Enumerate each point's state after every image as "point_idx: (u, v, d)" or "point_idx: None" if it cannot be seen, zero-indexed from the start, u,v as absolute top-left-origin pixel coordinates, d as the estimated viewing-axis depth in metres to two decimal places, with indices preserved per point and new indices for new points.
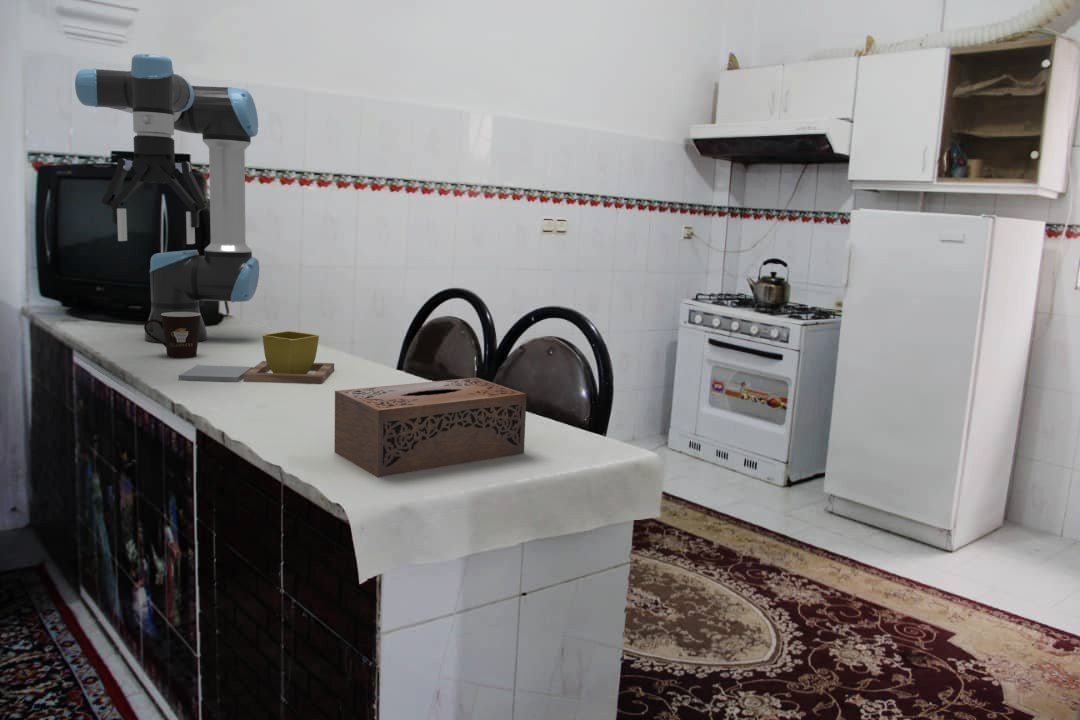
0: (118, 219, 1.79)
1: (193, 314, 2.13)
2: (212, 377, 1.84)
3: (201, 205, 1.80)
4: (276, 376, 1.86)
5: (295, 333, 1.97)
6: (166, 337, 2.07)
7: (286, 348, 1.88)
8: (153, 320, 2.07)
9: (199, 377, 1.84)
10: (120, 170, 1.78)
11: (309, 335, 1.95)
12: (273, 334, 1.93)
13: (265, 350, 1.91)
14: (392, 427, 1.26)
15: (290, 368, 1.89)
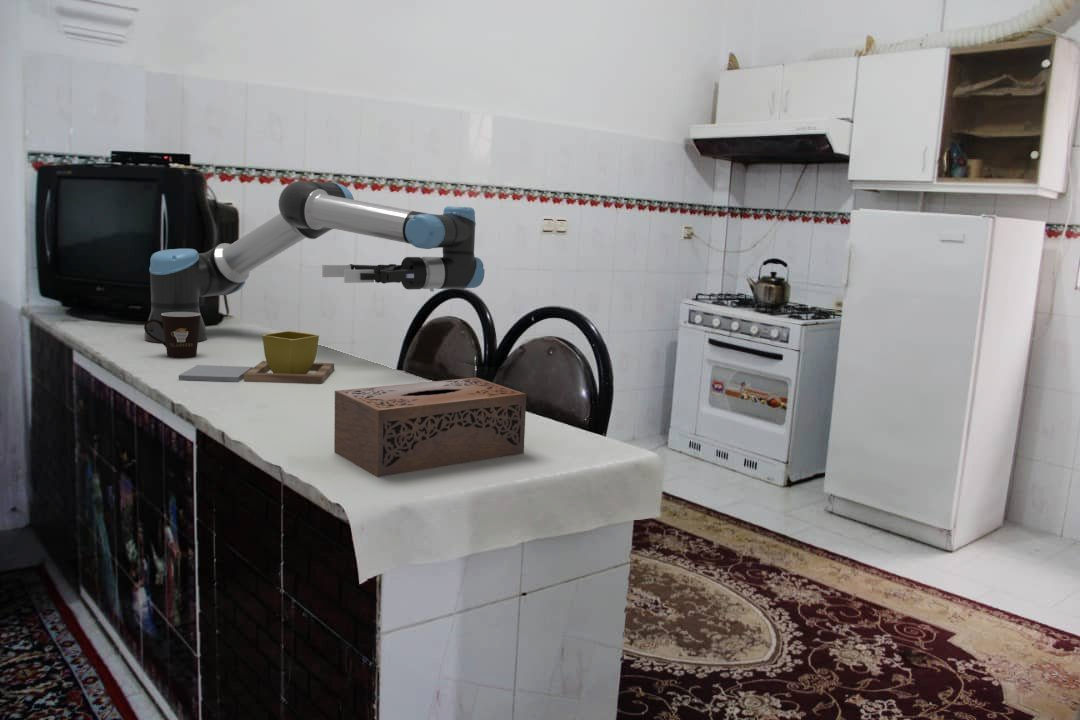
0: (364, 282, 1.92)
1: (193, 314, 2.13)
2: (212, 377, 1.84)
3: None
4: (276, 376, 1.86)
5: (295, 333, 1.97)
6: (166, 337, 2.07)
7: (286, 348, 1.88)
8: (153, 320, 2.07)
9: (199, 377, 1.84)
10: None
11: (309, 335, 1.95)
12: (273, 334, 1.93)
13: (265, 350, 1.91)
14: (392, 427, 1.26)
15: (290, 368, 1.89)
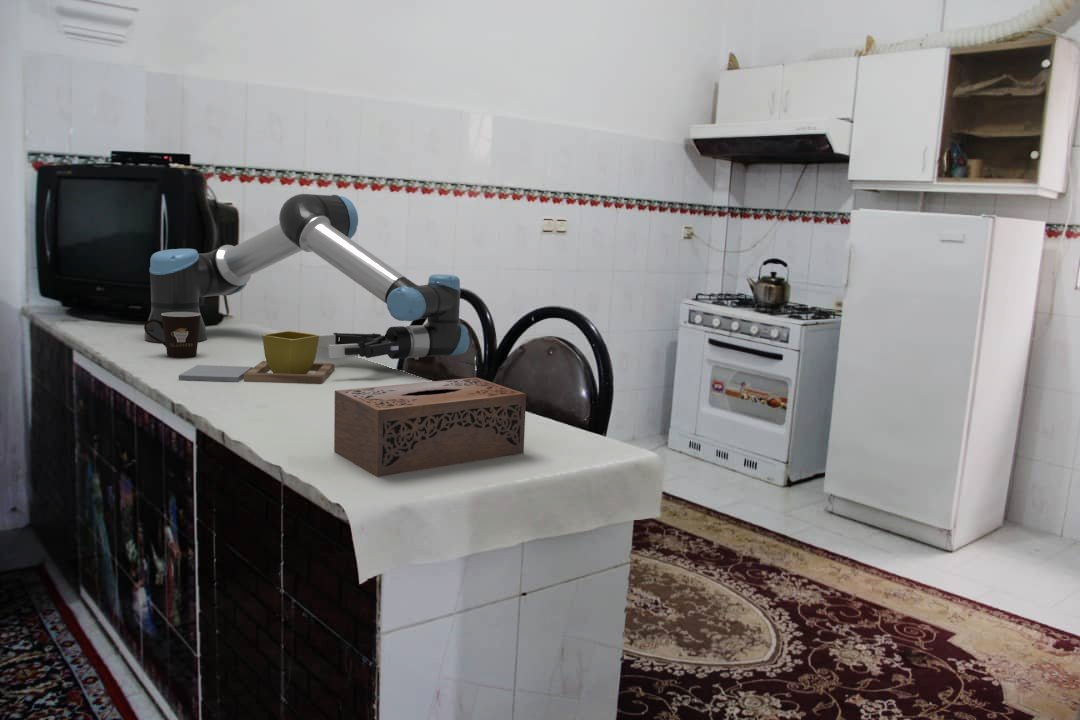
0: (348, 356, 1.93)
1: (193, 314, 2.13)
2: (212, 377, 1.84)
3: None
4: (276, 376, 1.86)
5: (295, 333, 1.97)
6: (166, 337, 2.07)
7: (286, 348, 1.88)
8: (153, 320, 2.07)
9: (199, 377, 1.84)
10: None
11: (309, 335, 1.95)
12: (273, 334, 1.93)
13: (265, 350, 1.91)
14: (391, 427, 1.26)
15: (290, 368, 1.89)
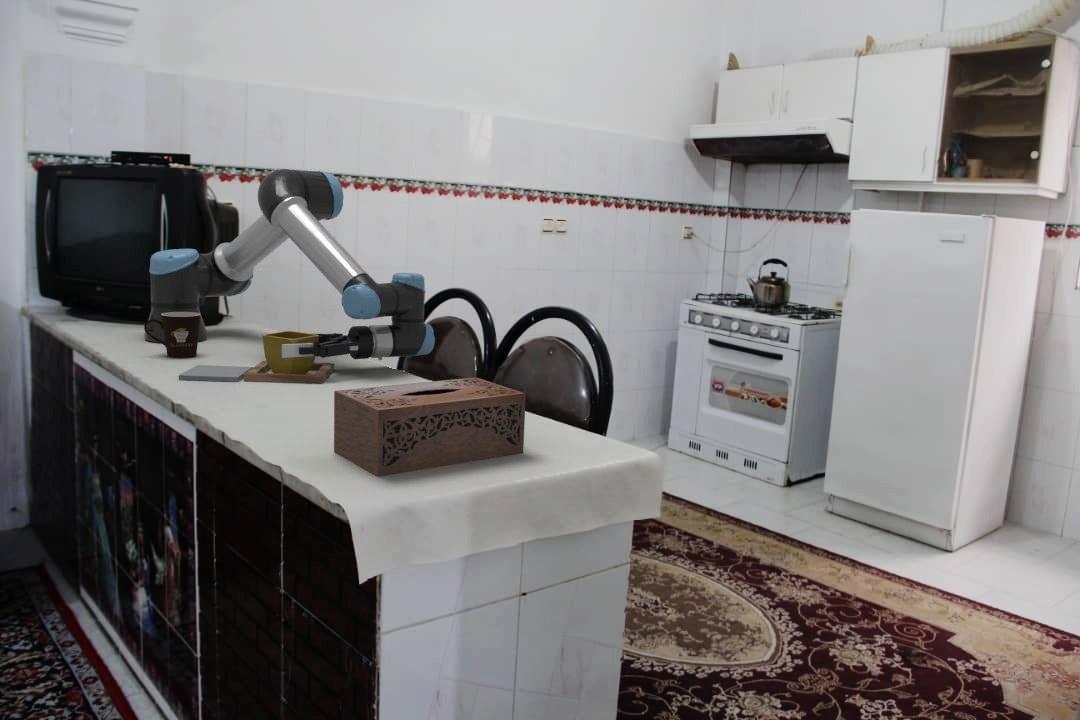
0: None
1: (193, 314, 2.13)
2: (212, 377, 1.84)
3: None
4: (276, 376, 1.86)
5: (295, 333, 1.97)
6: (166, 337, 2.07)
7: None
8: (153, 320, 2.07)
9: (199, 377, 1.84)
10: None
11: (309, 335, 1.95)
12: (273, 334, 1.93)
13: (265, 350, 1.91)
14: (392, 427, 1.26)
15: (290, 368, 1.89)
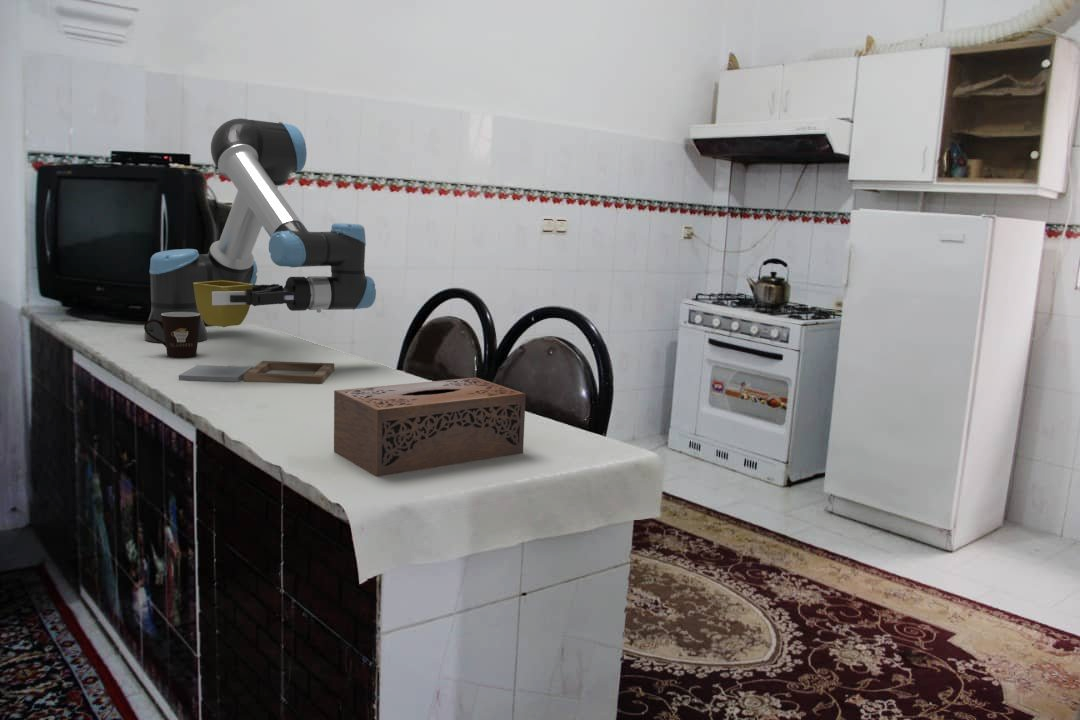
0: (234, 304, 1.83)
1: (193, 314, 2.13)
2: (212, 377, 1.84)
3: None
4: (276, 376, 1.86)
5: (229, 282, 1.91)
6: (166, 337, 2.07)
7: None
8: (153, 320, 2.07)
9: (199, 377, 1.84)
10: None
11: (243, 284, 1.90)
12: (205, 283, 1.88)
13: (196, 298, 1.85)
14: (391, 427, 1.26)
15: (221, 317, 1.84)
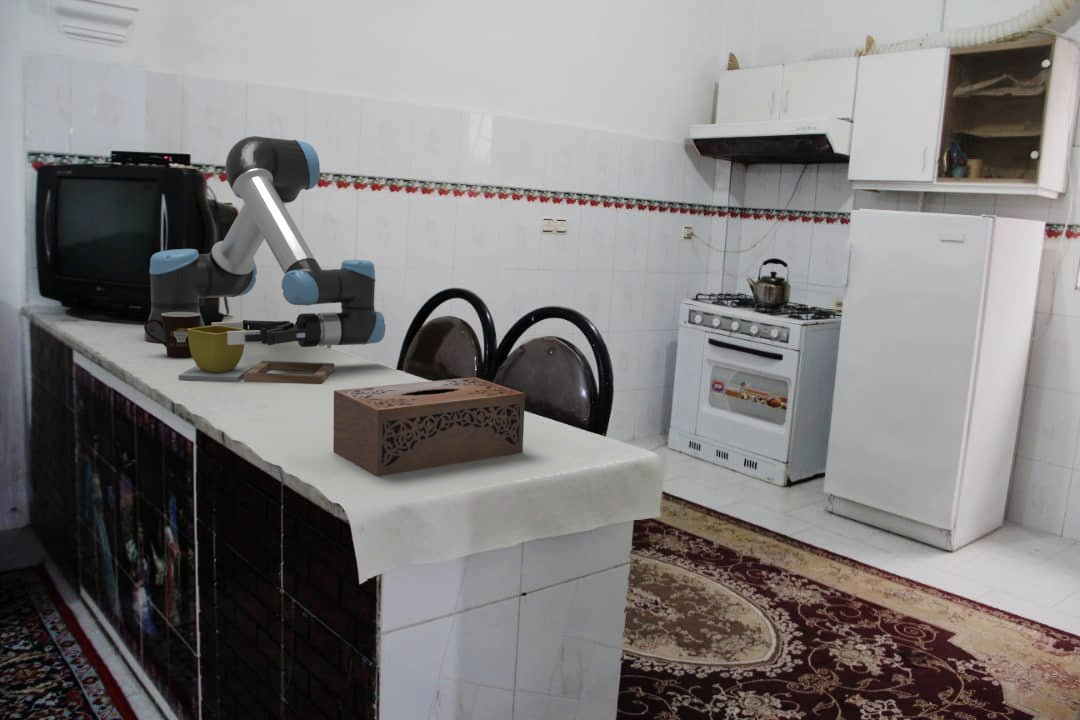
0: (249, 343, 1.86)
1: (193, 314, 2.13)
2: (212, 377, 1.84)
3: None
4: (276, 376, 1.86)
5: (224, 327, 1.93)
6: (166, 337, 2.07)
7: (209, 343, 1.85)
8: (153, 320, 2.07)
9: (199, 377, 1.84)
10: (294, 340, 1.91)
11: (237, 329, 1.92)
12: (200, 328, 1.90)
13: (190, 344, 1.88)
14: (391, 427, 1.26)
15: (213, 363, 1.86)
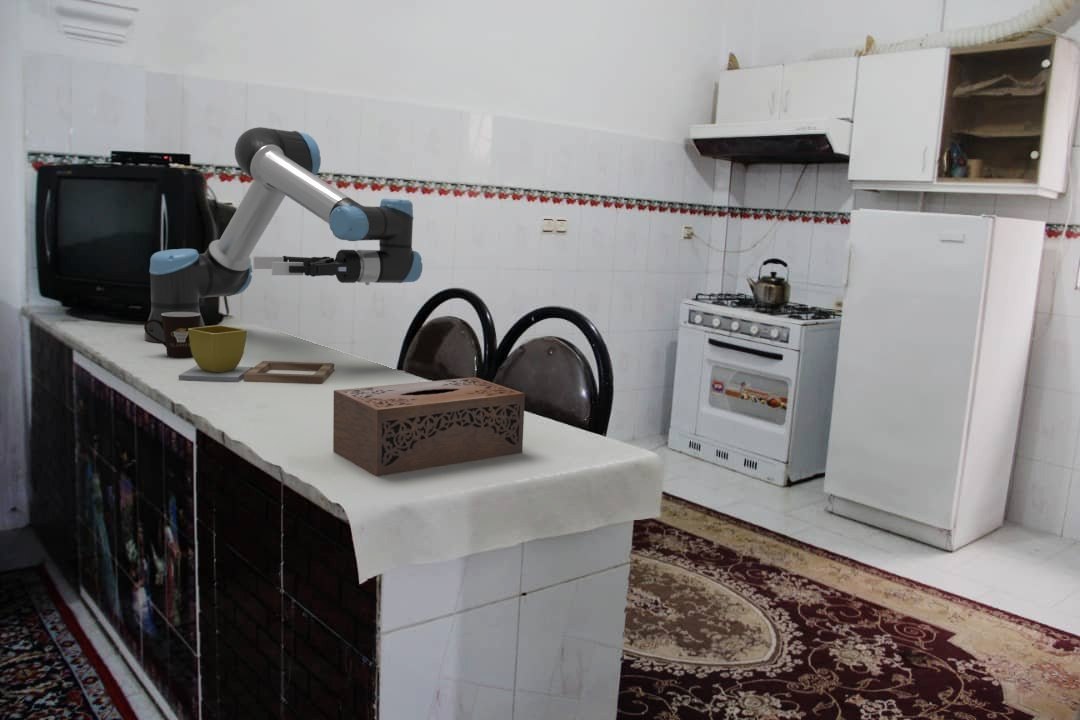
0: None
1: (193, 314, 2.13)
2: (212, 377, 1.84)
3: None
4: (276, 376, 1.86)
5: (226, 327, 1.94)
6: (166, 337, 2.07)
7: (208, 343, 1.85)
8: (153, 320, 2.07)
9: (199, 377, 1.84)
10: None
11: (238, 330, 1.92)
12: (201, 328, 1.90)
13: (190, 344, 1.88)
14: (391, 427, 1.26)
15: (213, 363, 1.86)
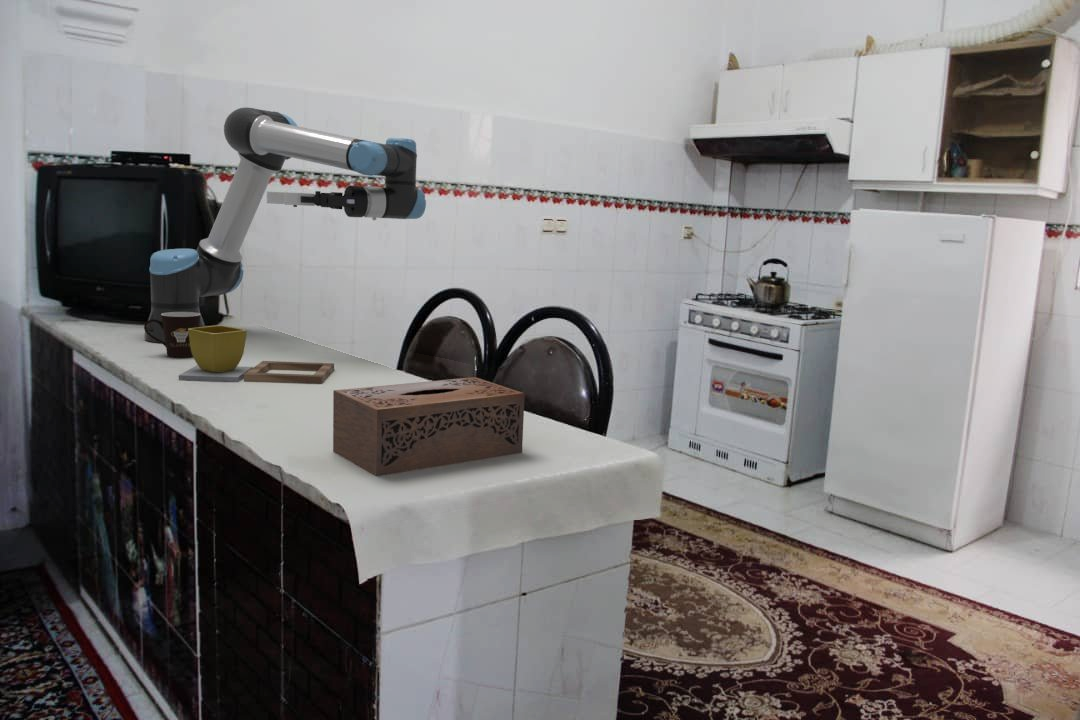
0: None
1: (193, 314, 2.13)
2: (212, 377, 1.84)
3: None
4: (276, 376, 1.86)
5: (226, 327, 1.94)
6: (166, 337, 2.07)
7: (208, 342, 1.85)
8: (153, 320, 2.07)
9: (199, 377, 1.84)
10: None
11: (238, 330, 1.92)
12: (201, 328, 1.90)
13: (191, 344, 1.88)
14: (390, 427, 1.26)
15: (213, 363, 1.86)
